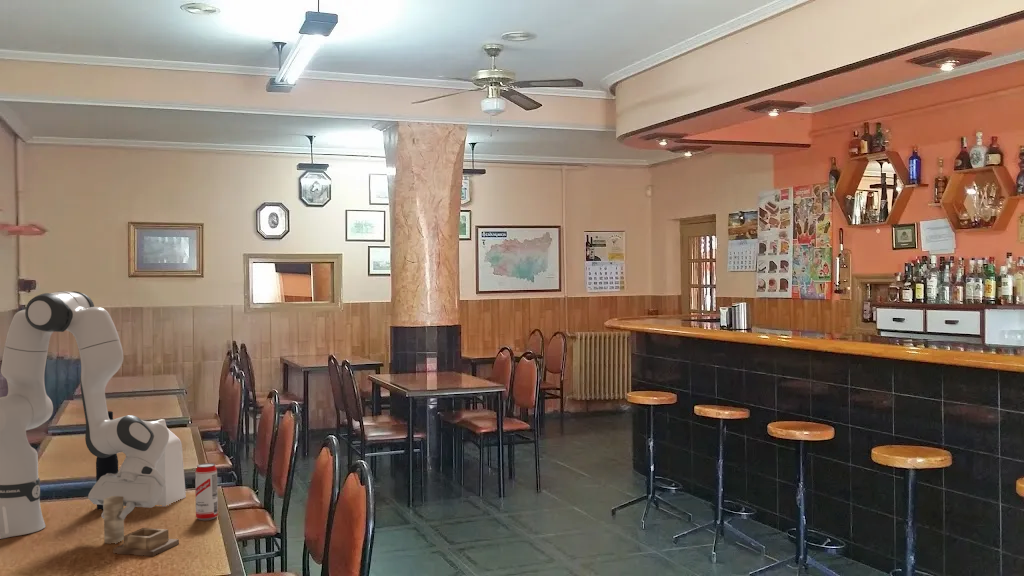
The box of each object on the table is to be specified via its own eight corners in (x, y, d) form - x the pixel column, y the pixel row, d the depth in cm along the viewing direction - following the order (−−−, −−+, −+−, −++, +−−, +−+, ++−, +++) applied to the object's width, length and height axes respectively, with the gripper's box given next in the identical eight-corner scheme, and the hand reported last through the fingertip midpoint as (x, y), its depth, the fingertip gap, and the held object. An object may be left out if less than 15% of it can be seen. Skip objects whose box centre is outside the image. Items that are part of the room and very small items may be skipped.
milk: (166, 506, 286) (164, 424, 285) (132, 505, 287) (131, 423, 287) (185, 497, 297) (184, 418, 297) (153, 496, 299) (151, 417, 299)
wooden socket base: (113, 553, 237) (112, 537, 237) (140, 541, 248) (139, 525, 248) (153, 556, 234) (153, 540, 234) (178, 543, 245) (178, 528, 245)
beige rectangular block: (104, 543, 247) (103, 499, 247) (113, 539, 250) (112, 496, 250) (115, 543, 246) (114, 499, 246) (124, 540, 249) (123, 496, 249)
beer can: (211, 521, 267) (210, 467, 267) (191, 520, 268) (190, 466, 268) (222, 515, 273) (221, 462, 273) (203, 515, 274) (202, 462, 274)
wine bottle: (98, 505, 287) (96, 411, 287) (120, 503, 289) (118, 410, 289) (95, 510, 281) (93, 414, 281) (117, 508, 283) (116, 413, 283)
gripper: (97, 466, 257) (73, 510, 248) (161, 469, 252) (139, 514, 243) (108, 479, 261) (85, 522, 252) (171, 482, 256) (149, 526, 247)
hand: (112, 518), depth 247 cm, fingers closed on beige rectangular block, 3 cm apart
